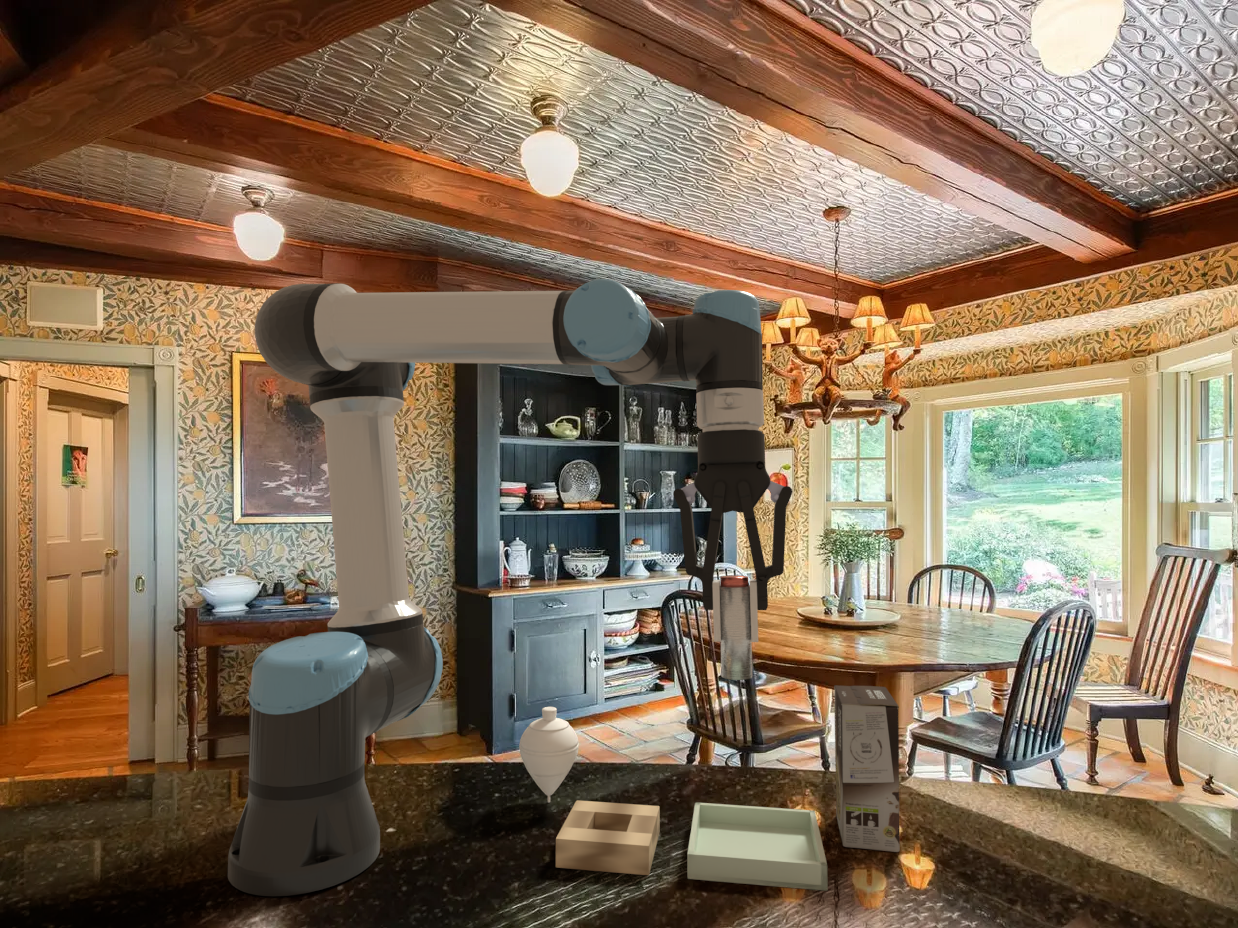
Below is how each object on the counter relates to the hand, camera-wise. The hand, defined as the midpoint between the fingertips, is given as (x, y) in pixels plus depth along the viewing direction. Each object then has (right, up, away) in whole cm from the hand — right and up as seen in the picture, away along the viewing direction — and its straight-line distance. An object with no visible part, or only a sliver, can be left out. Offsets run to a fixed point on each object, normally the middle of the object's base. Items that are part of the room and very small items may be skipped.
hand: (736, 639), depth 82 cm
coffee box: (+16, -24, +4) cm, 29 cm away
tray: (+2, -23, -1) cm, 24 cm away
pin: (0, -4, 0) cm, 4 cm away
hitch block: (-14, -23, 0) cm, 27 cm away
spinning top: (-22, -24, +13) cm, 35 cm away
